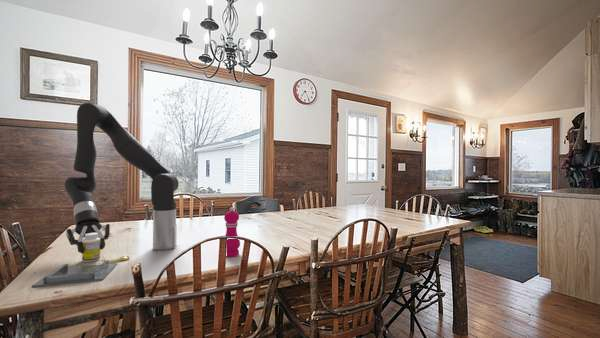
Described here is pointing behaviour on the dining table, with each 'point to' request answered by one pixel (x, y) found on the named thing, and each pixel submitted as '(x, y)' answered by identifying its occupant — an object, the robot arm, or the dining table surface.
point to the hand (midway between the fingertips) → (92, 250)
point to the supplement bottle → (91, 247)
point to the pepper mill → (232, 232)
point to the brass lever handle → (119, 259)
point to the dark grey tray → (76, 274)
